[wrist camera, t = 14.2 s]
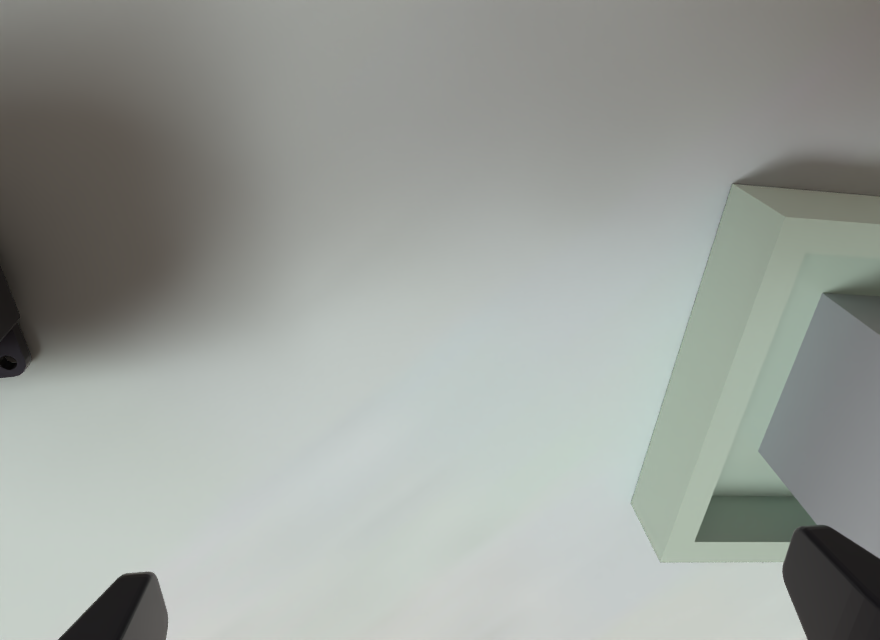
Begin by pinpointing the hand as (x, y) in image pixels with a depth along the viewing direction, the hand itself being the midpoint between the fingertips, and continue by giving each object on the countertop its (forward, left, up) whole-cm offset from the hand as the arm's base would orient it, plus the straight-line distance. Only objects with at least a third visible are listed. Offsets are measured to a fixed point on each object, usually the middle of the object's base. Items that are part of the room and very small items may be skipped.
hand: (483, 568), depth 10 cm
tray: (+15, -7, -13) cm, 21 cm away
